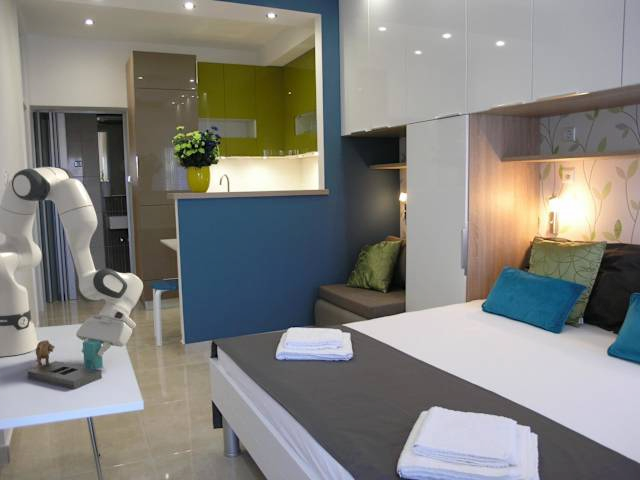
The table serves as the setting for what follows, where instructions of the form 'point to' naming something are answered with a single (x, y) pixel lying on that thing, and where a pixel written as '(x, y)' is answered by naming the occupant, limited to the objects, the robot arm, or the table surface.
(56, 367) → the gray rectangular base
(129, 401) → the table surface
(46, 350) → the lion figurine
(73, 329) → the table surface
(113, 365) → the table surface
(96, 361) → the teal rectangular prism
